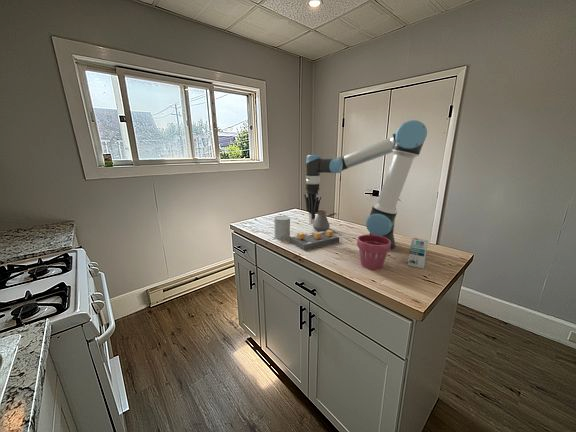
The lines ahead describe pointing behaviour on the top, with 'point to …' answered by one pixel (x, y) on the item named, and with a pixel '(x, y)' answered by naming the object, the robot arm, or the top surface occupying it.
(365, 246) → the plant pot
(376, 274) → the top surface
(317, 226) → the coffee pot
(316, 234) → the switch
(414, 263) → the light bulb box
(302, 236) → the switch
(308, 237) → the grey flat tray
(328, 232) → the switch
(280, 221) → the grey cylinder
